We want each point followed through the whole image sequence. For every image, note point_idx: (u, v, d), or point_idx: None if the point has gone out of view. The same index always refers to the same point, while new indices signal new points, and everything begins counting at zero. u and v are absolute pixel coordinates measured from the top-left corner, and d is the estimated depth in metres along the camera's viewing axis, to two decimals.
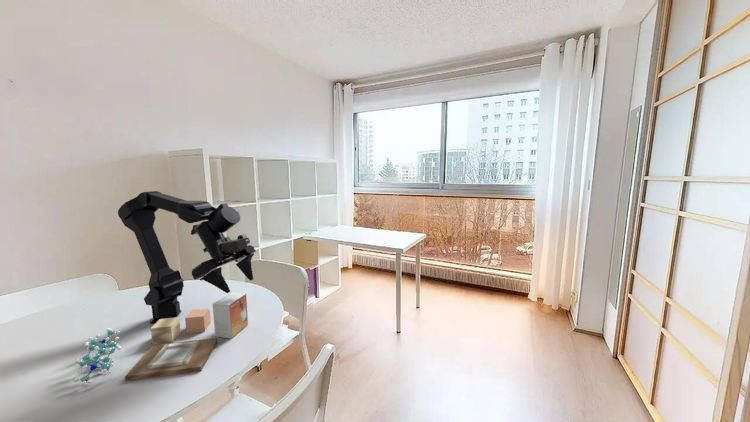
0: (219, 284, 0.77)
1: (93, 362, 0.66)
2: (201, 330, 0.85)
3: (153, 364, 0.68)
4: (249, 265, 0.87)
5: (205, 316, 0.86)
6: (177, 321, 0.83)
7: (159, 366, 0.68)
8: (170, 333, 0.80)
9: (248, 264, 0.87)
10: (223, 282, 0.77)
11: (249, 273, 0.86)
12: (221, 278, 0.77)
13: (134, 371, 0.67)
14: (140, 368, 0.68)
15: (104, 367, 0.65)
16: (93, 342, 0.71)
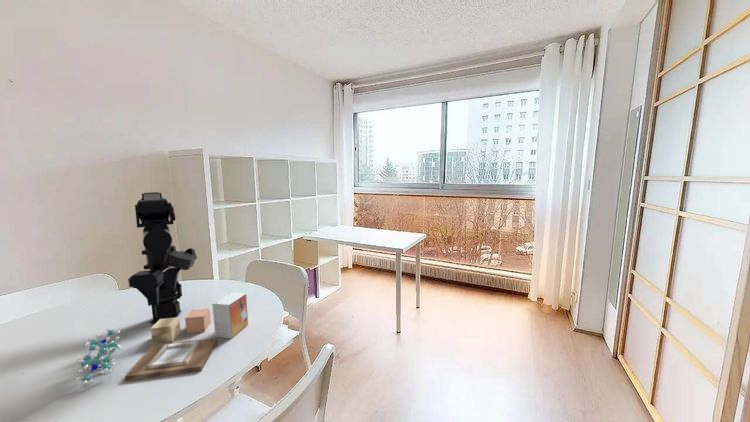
0: (151, 296, 0.74)
1: (94, 362, 0.66)
2: (201, 330, 0.85)
3: (153, 364, 0.68)
4: (176, 276, 0.85)
5: (205, 316, 0.86)
6: (177, 321, 0.83)
7: (159, 366, 0.68)
8: (170, 333, 0.80)
9: (176, 275, 0.85)
10: (157, 295, 0.75)
11: (173, 284, 0.84)
12: (157, 290, 0.75)
13: (134, 371, 0.67)
14: (140, 368, 0.68)
15: (105, 367, 0.65)
16: (93, 342, 0.71)
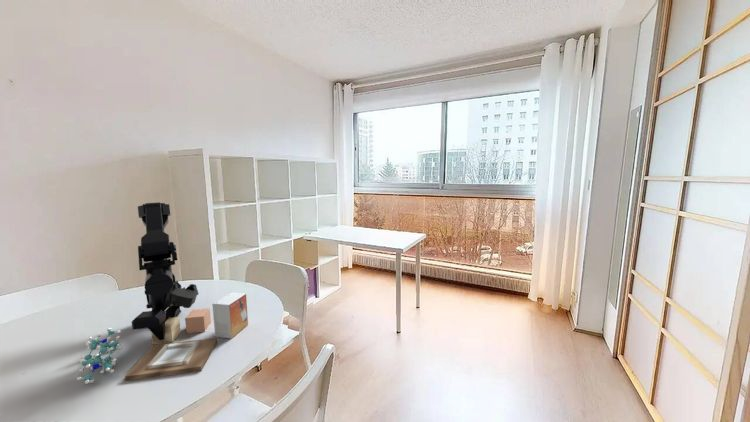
0: (157, 331, 0.78)
1: (95, 361, 0.66)
2: (201, 330, 0.85)
3: (153, 364, 0.68)
4: (175, 314, 0.85)
5: (205, 316, 0.86)
6: (177, 321, 0.83)
7: (159, 366, 0.68)
8: (170, 333, 0.80)
9: (175, 313, 0.85)
10: (163, 330, 0.78)
11: None
12: (163, 326, 0.78)
13: (134, 371, 0.67)
14: (140, 368, 0.68)
15: (107, 366, 0.65)
16: (94, 342, 0.71)
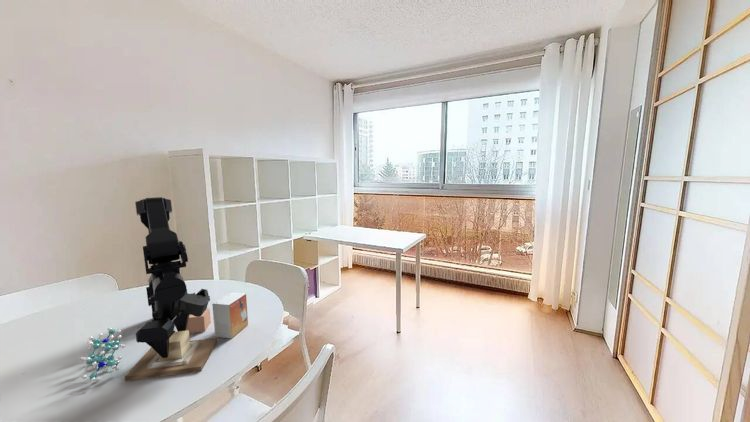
0: (160, 348, 0.66)
1: (100, 360, 0.67)
2: (201, 330, 0.85)
3: (153, 364, 0.68)
4: (187, 319, 0.77)
5: (205, 316, 0.86)
6: (187, 335, 0.74)
7: (159, 366, 0.68)
8: (179, 349, 0.70)
9: (187, 318, 0.77)
10: (167, 347, 0.67)
11: (184, 328, 0.76)
12: (167, 342, 0.67)
13: (134, 371, 0.67)
14: (140, 368, 0.68)
15: (112, 364, 0.66)
16: (96, 341, 0.71)
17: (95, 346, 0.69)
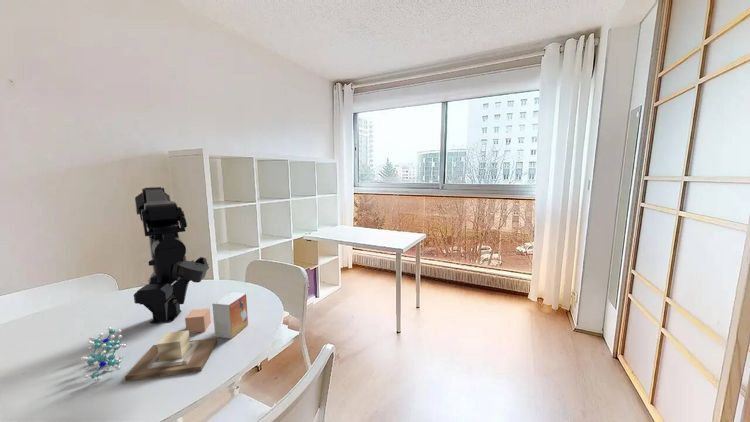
0: (159, 312, 0.66)
1: (101, 359, 0.67)
2: (201, 330, 0.85)
3: (153, 364, 0.68)
4: (186, 287, 0.77)
5: (205, 316, 0.86)
6: (187, 335, 0.74)
7: (159, 366, 0.68)
8: (179, 349, 0.70)
9: (186, 286, 0.77)
10: (166, 311, 0.67)
11: (182, 296, 0.76)
12: (166, 306, 0.67)
13: (134, 371, 0.67)
14: (140, 368, 0.68)
15: (114, 363, 0.66)
16: (97, 341, 0.71)
17: (96, 346, 0.69)
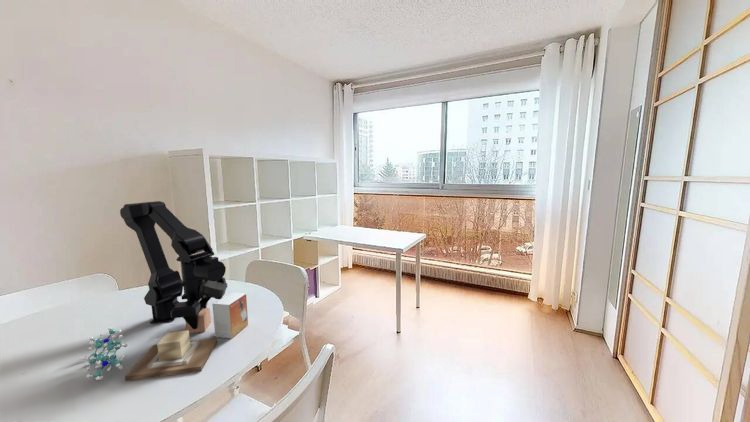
0: (192, 321, 0.83)
1: (103, 359, 0.67)
2: (201, 329, 0.85)
3: (153, 364, 0.68)
4: (206, 305, 0.90)
5: (205, 316, 0.86)
6: (187, 335, 0.74)
7: (159, 366, 0.68)
8: (179, 349, 0.70)
9: (206, 304, 0.90)
10: (197, 320, 0.84)
11: None
12: (197, 316, 0.83)
13: (134, 371, 0.67)
14: (140, 368, 0.68)
15: (116, 362, 0.67)
16: (98, 341, 0.71)
17: (97, 346, 0.69)
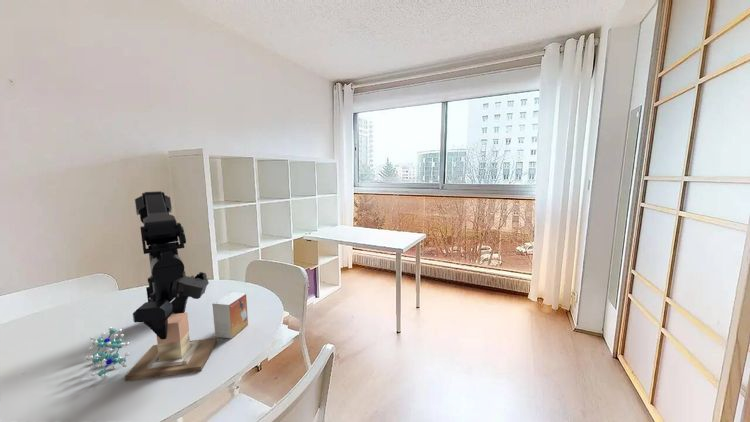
0: (159, 329, 0.66)
1: (106, 357, 0.68)
2: (176, 339, 0.70)
3: (153, 364, 0.68)
4: (185, 303, 0.76)
5: (181, 322, 0.71)
6: (187, 335, 0.74)
7: (159, 366, 0.68)
8: (179, 349, 0.70)
9: (185, 302, 0.76)
10: (166, 328, 0.66)
11: (181, 312, 0.76)
12: (166, 323, 0.66)
13: (134, 371, 0.67)
14: (140, 368, 0.68)
15: (121, 360, 0.67)
16: (99, 340, 0.71)
17: (100, 345, 0.70)
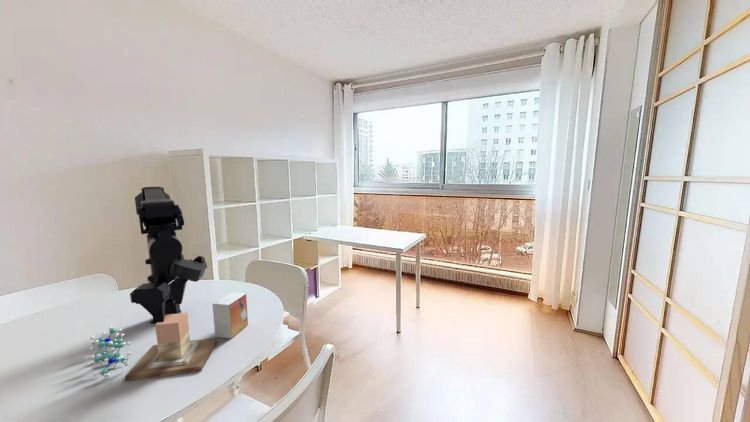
0: (156, 312, 0.65)
1: None
2: (176, 339, 0.70)
3: (153, 364, 0.68)
4: (184, 287, 0.76)
5: (181, 322, 0.71)
6: (187, 335, 0.74)
7: (159, 366, 0.68)
8: (179, 349, 0.70)
9: (184, 286, 0.75)
10: (163, 311, 0.65)
11: (180, 296, 0.75)
12: (163, 305, 0.65)
13: (134, 371, 0.67)
14: (140, 368, 0.68)
15: (123, 359, 0.68)
16: (100, 340, 0.72)
17: (101, 344, 0.70)
